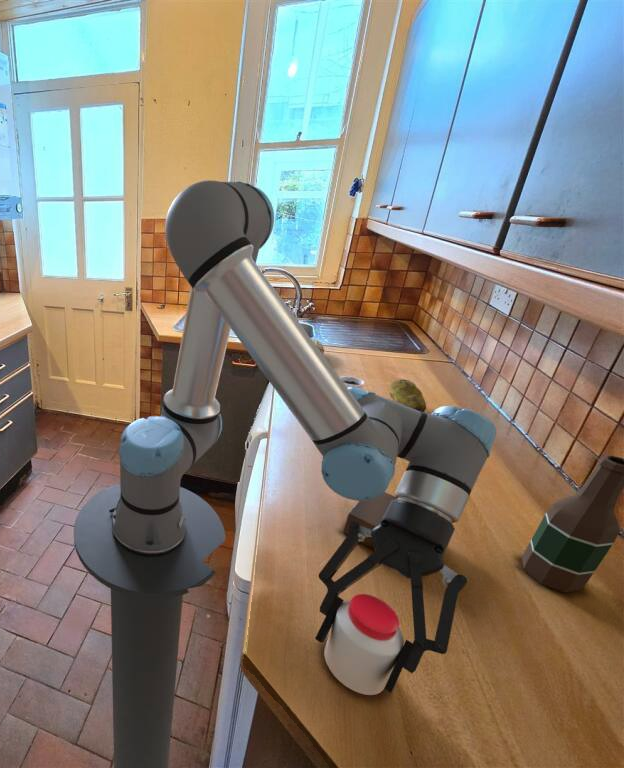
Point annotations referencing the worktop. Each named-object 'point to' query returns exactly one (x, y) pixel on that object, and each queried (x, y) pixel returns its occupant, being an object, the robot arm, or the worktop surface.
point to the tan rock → (318, 345)
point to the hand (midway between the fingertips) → (351, 663)
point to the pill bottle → (364, 644)
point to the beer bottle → (577, 531)
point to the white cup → (352, 382)
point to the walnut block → (369, 514)
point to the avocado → (407, 394)
